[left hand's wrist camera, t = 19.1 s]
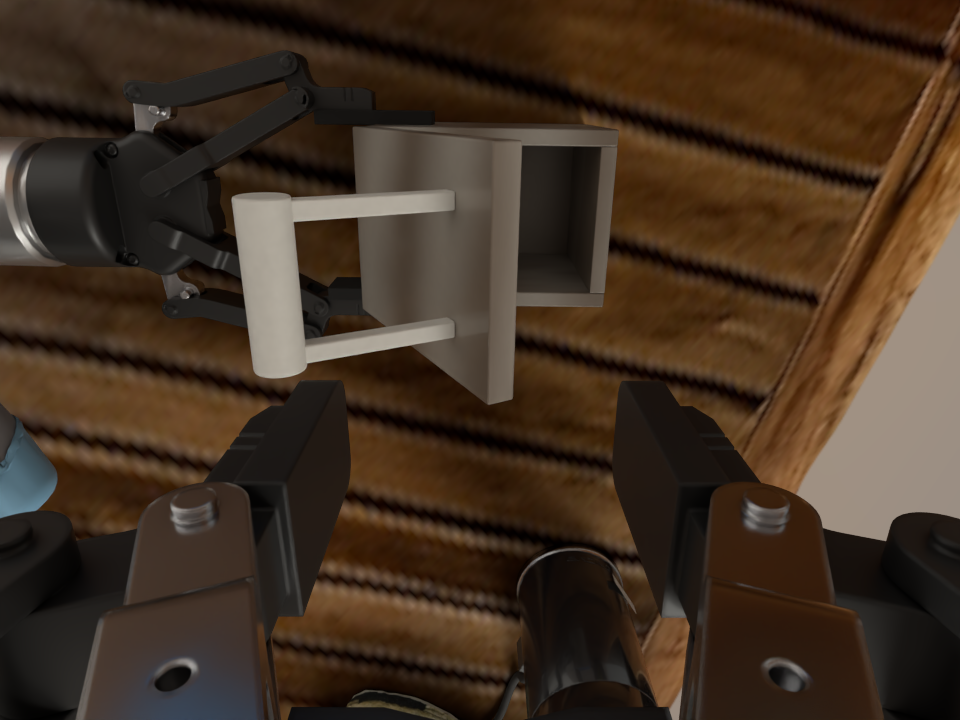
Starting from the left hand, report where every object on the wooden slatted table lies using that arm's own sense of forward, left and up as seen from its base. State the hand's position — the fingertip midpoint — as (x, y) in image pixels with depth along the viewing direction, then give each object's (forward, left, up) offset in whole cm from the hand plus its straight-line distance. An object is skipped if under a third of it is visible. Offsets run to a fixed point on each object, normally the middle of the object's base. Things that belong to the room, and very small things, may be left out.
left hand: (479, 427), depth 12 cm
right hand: (-1, +3, -28) cm, 28 cm away
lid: (-1, +2, -17) cm, 18 cm away
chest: (0, -1, -35) cm, 35 cm away
